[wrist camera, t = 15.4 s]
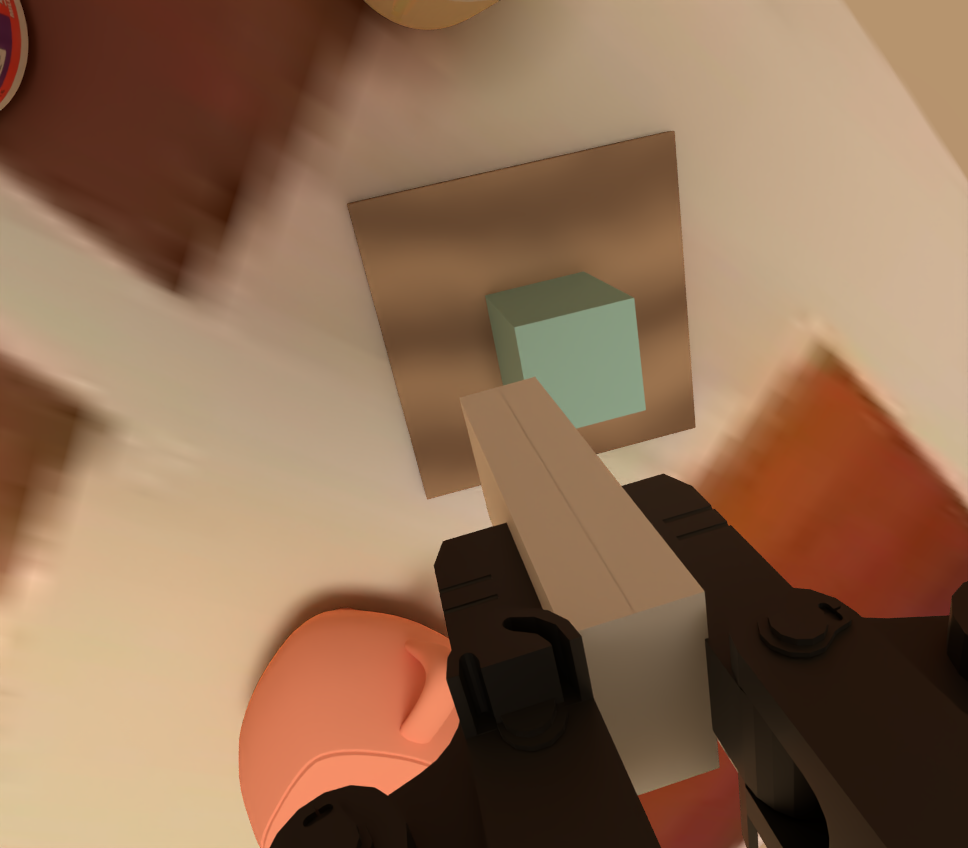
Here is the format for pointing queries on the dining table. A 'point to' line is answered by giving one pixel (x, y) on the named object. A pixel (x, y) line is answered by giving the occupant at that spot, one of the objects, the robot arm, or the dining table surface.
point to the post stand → (519, 262)
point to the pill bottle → (12, 49)
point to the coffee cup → (429, 11)
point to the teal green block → (571, 345)
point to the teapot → (343, 713)
